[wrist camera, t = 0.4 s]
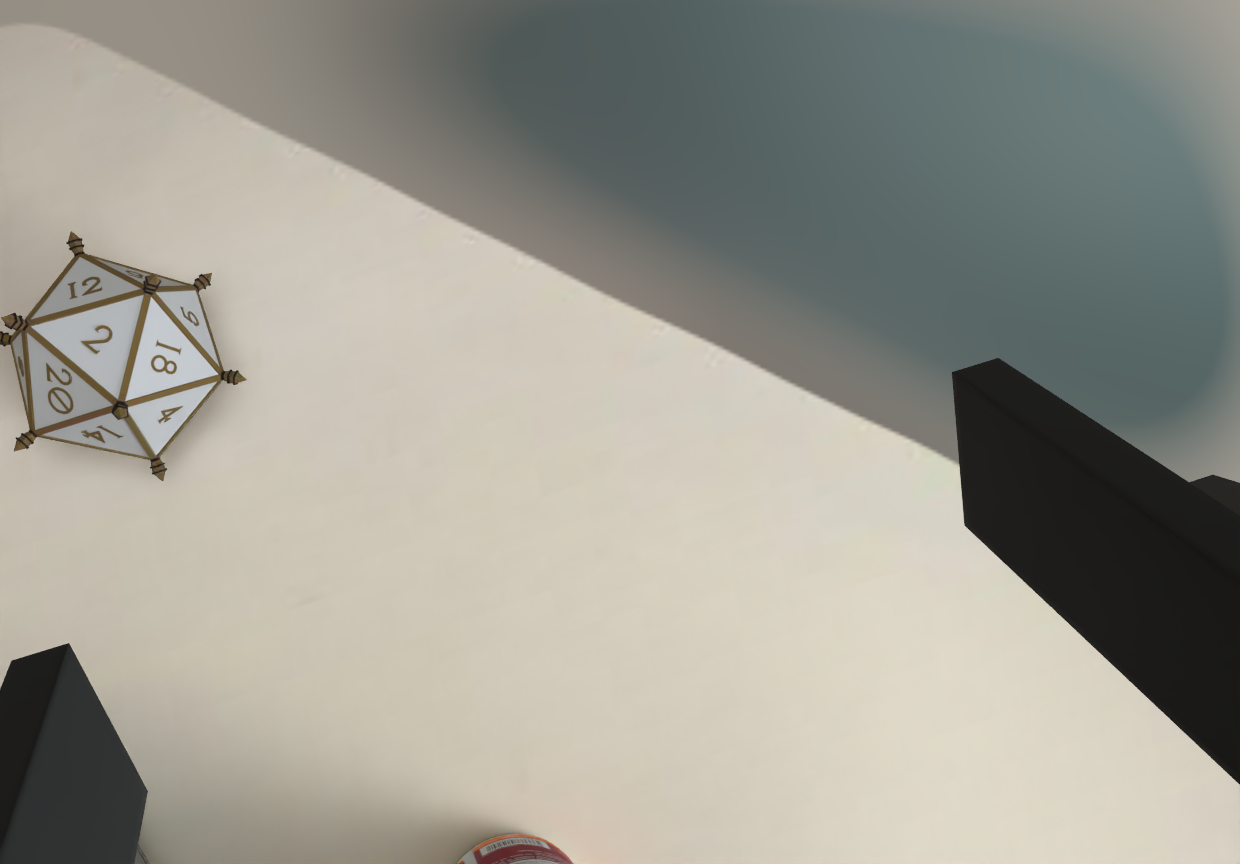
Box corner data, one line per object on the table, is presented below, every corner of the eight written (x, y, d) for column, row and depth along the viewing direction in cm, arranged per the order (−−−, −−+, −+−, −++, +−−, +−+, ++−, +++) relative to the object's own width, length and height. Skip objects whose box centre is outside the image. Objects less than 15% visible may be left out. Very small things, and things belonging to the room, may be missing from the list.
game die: (185, 423, 52) (204, 545, 44) (-27, 375, 47) (-50, 501, 39) (251, 243, 49) (284, 337, 41) (32, 174, 44) (21, 264, 36)
